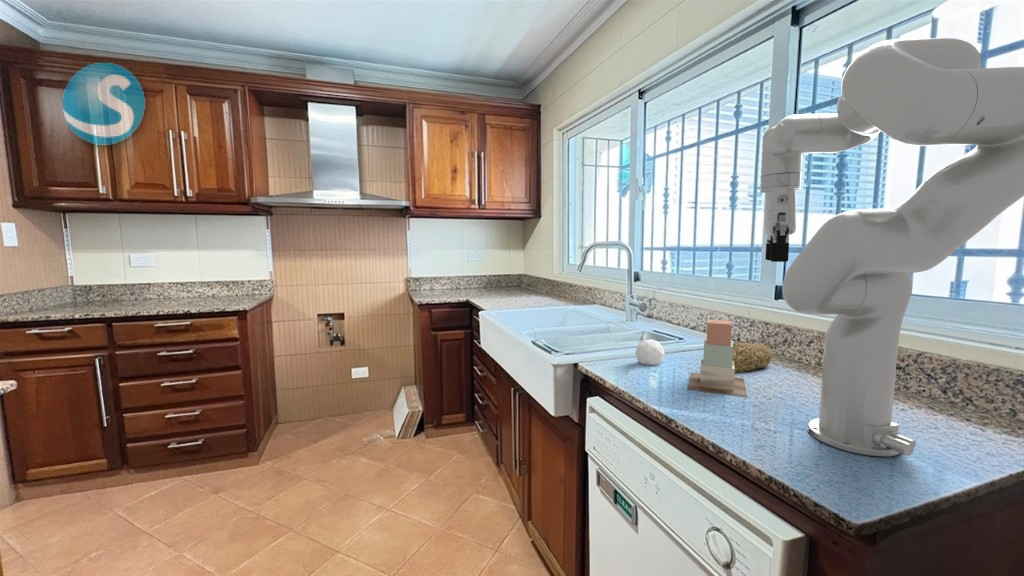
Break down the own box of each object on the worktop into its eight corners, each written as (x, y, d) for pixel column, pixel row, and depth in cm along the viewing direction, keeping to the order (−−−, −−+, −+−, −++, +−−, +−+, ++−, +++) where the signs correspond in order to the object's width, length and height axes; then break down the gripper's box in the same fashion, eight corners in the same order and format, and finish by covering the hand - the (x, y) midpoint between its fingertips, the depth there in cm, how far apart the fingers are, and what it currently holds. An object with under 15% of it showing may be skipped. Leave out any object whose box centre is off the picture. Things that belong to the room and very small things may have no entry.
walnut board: (747, 401, 88) (747, 397, 88) (687, 393, 94) (687, 389, 94) (743, 382, 101) (743, 378, 101) (690, 376, 106) (690, 372, 106)
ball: (651, 377, 114) (649, 359, 109) (631, 361, 120) (628, 343, 115) (671, 362, 116) (669, 344, 111) (650, 347, 122) (647, 329, 117)
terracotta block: (730, 346, 93) (731, 324, 92) (706, 343, 95) (707, 322, 95) (730, 341, 97) (731, 320, 97) (707, 339, 100) (707, 319, 99)
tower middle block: (732, 368, 93) (733, 346, 92) (703, 365, 95) (704, 344, 95) (731, 361, 98) (732, 341, 98) (703, 358, 101) (704, 338, 100)
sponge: (740, 384, 104) (795, 360, 110) (732, 354, 104) (787, 331, 110) (701, 378, 116) (752, 356, 123) (694, 351, 116) (745, 331, 123)
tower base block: (733, 390, 93) (734, 369, 92) (700, 386, 96) (700, 365, 95) (732, 381, 99) (733, 361, 98) (701, 377, 102) (701, 358, 101)
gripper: (808, 176, 81) (803, 262, 83) (793, 187, 97) (789, 259, 99) (764, 180, 85) (760, 262, 86) (757, 190, 100) (753, 259, 102)
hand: (776, 260), depth 93 cm, fingers open, 9 cm apart
